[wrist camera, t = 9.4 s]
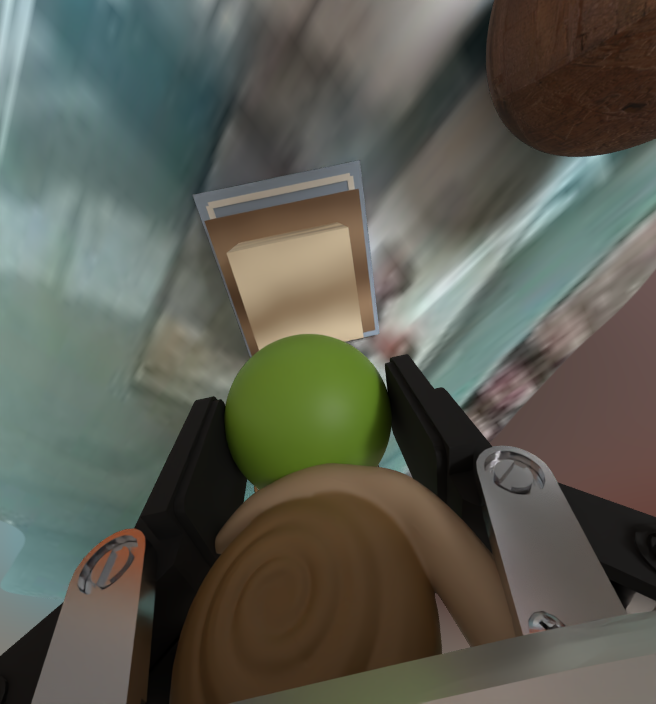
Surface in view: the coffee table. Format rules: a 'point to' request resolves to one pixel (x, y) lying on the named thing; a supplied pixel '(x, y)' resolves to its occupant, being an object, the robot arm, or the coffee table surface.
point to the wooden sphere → (574, 73)
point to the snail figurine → (326, 540)
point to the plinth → (288, 222)
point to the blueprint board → (282, 193)
